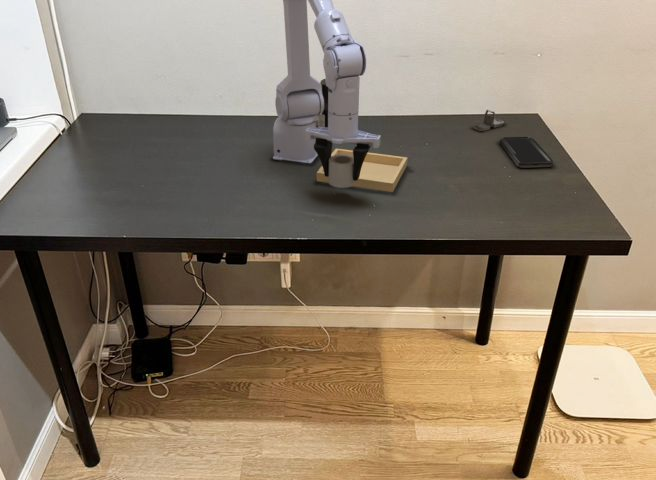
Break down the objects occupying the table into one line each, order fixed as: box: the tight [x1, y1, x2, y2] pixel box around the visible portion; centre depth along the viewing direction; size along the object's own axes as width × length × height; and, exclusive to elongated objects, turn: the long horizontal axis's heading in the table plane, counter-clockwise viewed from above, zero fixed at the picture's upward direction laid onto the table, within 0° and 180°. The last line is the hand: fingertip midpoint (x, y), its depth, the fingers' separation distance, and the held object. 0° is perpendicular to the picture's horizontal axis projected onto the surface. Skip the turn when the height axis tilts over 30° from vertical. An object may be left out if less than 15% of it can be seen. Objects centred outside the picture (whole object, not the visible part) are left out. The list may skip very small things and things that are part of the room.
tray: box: [316, 147, 408, 193], centre depth 141 cm, size 17×14×3 cm
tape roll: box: [328, 154, 355, 189], centre depth 129 cm, size 5×5×5 cm
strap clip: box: [472, 109, 505, 132], centre depth 163 cm, size 8×3×4 cm, turn 122°
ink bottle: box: [316, 78, 328, 127], centre depth 162 cm, size 10×9×12 cm
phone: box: [499, 136, 554, 169], centre depth 149 cm, size 8×1×15 cm
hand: (341, 176), depth 129 cm, fingers closed on tape roll, 5 cm apart
